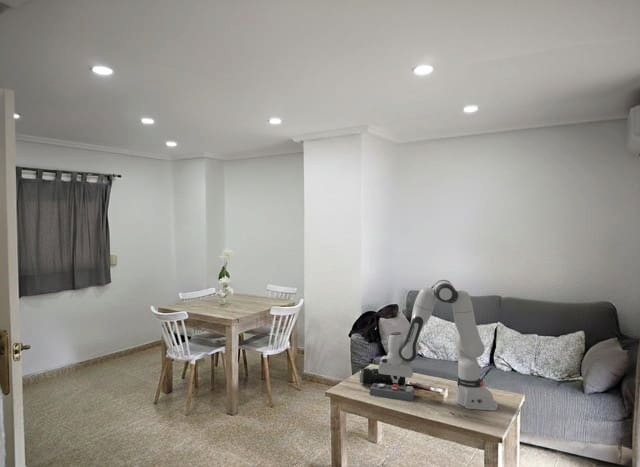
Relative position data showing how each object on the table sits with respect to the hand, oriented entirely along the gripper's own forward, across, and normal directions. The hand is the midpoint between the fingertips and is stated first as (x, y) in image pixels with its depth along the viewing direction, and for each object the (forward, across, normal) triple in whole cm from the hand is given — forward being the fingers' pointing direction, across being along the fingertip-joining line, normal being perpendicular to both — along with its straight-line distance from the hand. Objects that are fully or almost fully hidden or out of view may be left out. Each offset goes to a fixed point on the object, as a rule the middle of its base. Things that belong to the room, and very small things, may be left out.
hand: (395, 382), depth 246 cm
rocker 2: (+2, -8, +1) cm, 9 cm away
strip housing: (+7, +2, +1) cm, 7 cm away
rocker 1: (+2, +8, +1) cm, 8 cm away
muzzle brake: (+8, +11, -13) cm, 18 cm away
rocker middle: (+2, 0, +1) cm, 3 cm away
